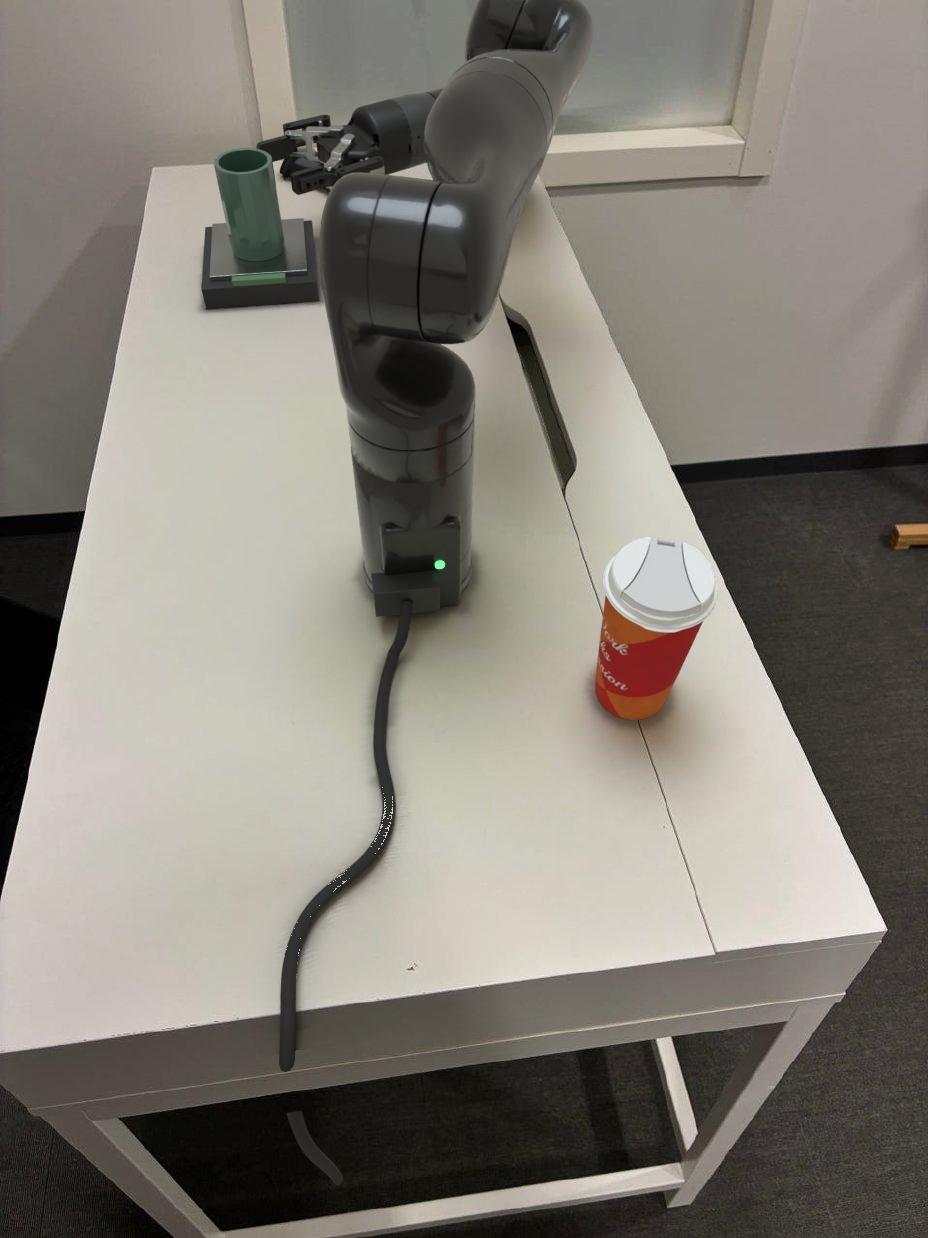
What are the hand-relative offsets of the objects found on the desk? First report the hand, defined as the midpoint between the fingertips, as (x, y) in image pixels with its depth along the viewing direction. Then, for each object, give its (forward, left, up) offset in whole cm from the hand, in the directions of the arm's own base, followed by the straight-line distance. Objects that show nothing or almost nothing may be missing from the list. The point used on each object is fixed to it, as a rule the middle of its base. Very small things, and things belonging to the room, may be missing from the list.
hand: (275, 169), depth 99 cm
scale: (-2, +3, -11) cm, 12 cm away
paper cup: (-67, -25, -11) cm, 72 cm away
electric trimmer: (+19, -6, -11) cm, 23 cm away
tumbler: (-2, +3, -8) cm, 9 cm away
